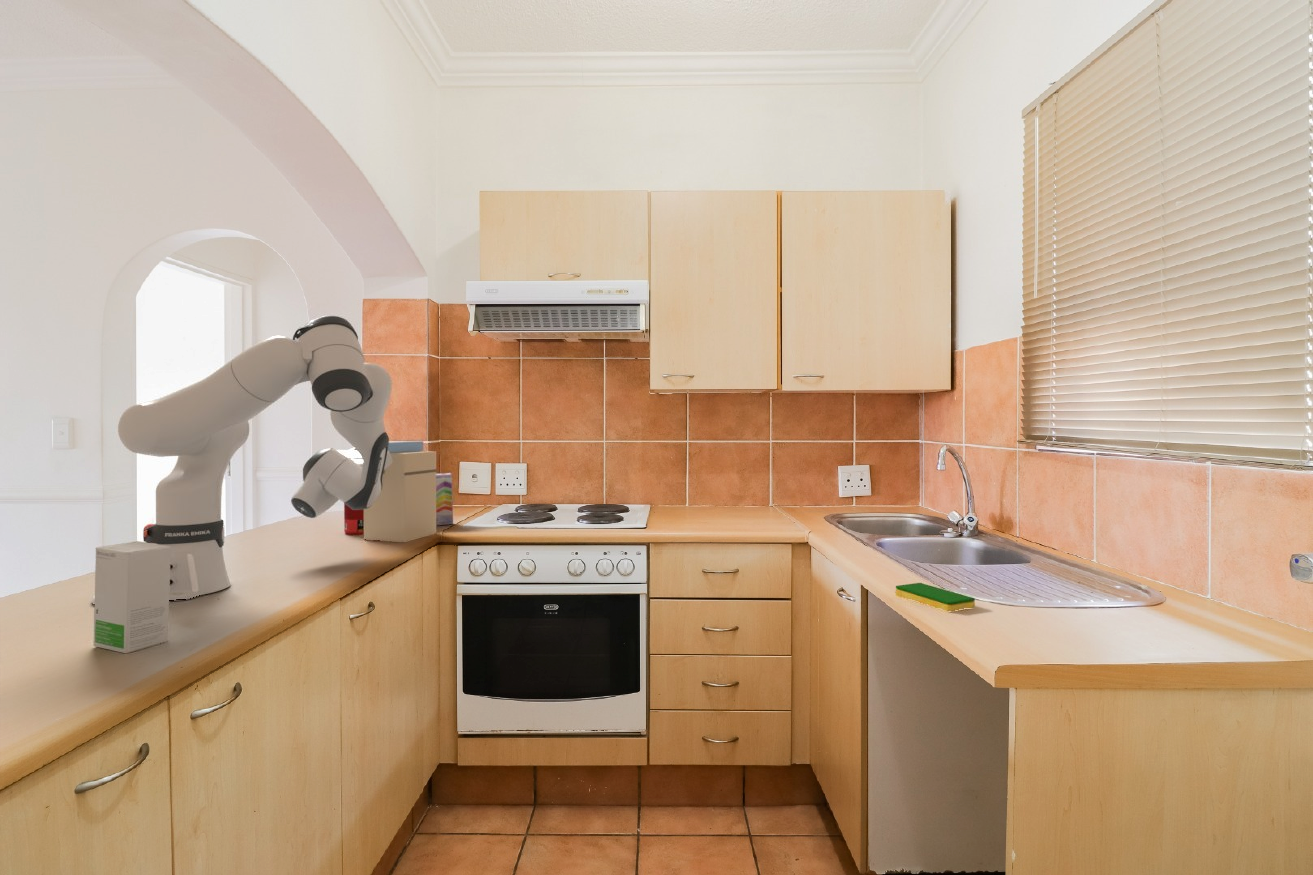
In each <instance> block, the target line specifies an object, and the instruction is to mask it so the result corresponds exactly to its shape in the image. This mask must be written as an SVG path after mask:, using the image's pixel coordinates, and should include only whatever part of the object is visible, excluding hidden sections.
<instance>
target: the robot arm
mask: <svg viewBox="0 0 1313 875" xmlns="http://www.w3.org/2000/svg"><path fill="white" fill-rule="evenodd" d="M392 380H393V379H392V377H391V375H390V373H389V372H388V370H386V369H385V368H384V367H383V366H381V365H379V364H376V363H373V362H365V357H364V353H363V350H362V347H361V345H360V341H359V336H358V333H357V331H356V330H355V328H354V326H353V325H352V324H351V323H350V322H349V321H348V320H347V319H345V318H343V317H341V316H338V315H337V316H336V315H324V316H321V317H317V318H315V319H312V320H310V321H309V322H307V323H306V324H305V325H304V326H300V327H299V328H297V330H295V332H294V334H293V336H292V338H290V337H287V336H283V335H275V336H274V335H273V336H271V337H269V338H266V339H264V340H262V341H260V342H257V343H255V344H254V345H252V346H250V347H248V348H247V349H245V350H244V351H242V352H240V353H238V355H236V356H235V357H234V358H232V359H231V360H229V361H228V362H227V363H225V364H224V365H223V366H221V367H220V368H219V369H217V370H216V371H214V372H213V373H212V374H210V375H209V376H207V377H205V378H203V379H201V380H199V381H197V382H195V383H193V384H190V385H188V386H186V387H183V388H181V389H179V390H177V391H174V392H171V393H170V394H167V395H164V396H162V397H159V398H157V399H154V400H150V401H147V402H146V401H145V402H143V403H139V404H134V405H131V406H129V407H127V409H125V410H124V412H122V415H121V416H120V418H119V421H118V426H117V432H118V436H119V439H120V441H121V443H122V444H123V446H124V447H125V448H126V449H127V450H129V451H130V452H131V453H135V454H140V455H145V456H152V457H159V458H163V457H177V460H176V463H175V465H174V467H173V469H172V470H171V471H170V473H169V474H168V475H167V476H165V477H164V478H162V479H161V480H160V481H159V482H158V483H157V485H156V488H155V523H148V524H146V525H145V526H144V527H143V533H142V534H143V535H142V536H143V542H146V543H156V544H158V545H164V546H169V547H171V560H170V591H169V600H174V601H176V600H175V599H186V600H190V598H191V599H193V597H194V598H197V597H199V595H200V596H202V595H206V594H207V595H208V594H212V593H215V592H219V591H221V590H225V589H227V588H229V587H230V586H231V585H232V583H231V581H230V578H229V574H228V571H227V567H226V561H225V557H224V556H225V555H224V550H223V546H224V544H225V525H224V520H223V519H222V494H223V493H222V491H223V483H224V478H225V474H226V471H227V469H228V466H229V464H230V461H231V460H232V458H233V456H234V455H235V454H236V452H237V451H238V450H239V449H240V448H241V447H242V446H244V445H245V443H246V441H247V440H248V437H249V435H250V424H249V421H250V420H251V419H253V418H254V417H257V415H259V414H260V413H262V411H264V410H266V409H267V408H268V407H270V406H271V405H273V404H274V403H275V402H277V401H278V400H279V399H281V398H282V397H283V396H285V395H286V394H287V393H288V392H289V391H290V390H291V389H293V388H294V387H295V386H297V385H299V384H302V383H304V382H305V383H306V382H309V383H310V385H311V391H312V395H313V396H314V399H315V400H316V402H317V403H318V404H319V406H320V407H322V408H323V409H326V410H329V411H330V412H329V413H330V414H329V415H330V420H331V424H332V426H333V427H334V429H335V430H336V432H338V434H339V435H341V437H343V438H344V439H345V440H346V441H347V442H348V443H349V444H350V445H351V446H352V447H353V448H350V449H335V448H333V447H327V448H322V449H319V450H318V451H317V452H316V453H314V454H313V455H312V456H311V457H310V458H309V459H308V460H307V461H305V463H304V464H303V465H304V466H303V467H302V481H303V483H302V484H301V486H300V487H299V488H298V489H297V491H296V492H295V493H294V494H293V495H292V497H291V500H290V502H291V505H292V507H293V508H294V509H295V510H296V511H297V512H298V513H300V514H301V515H303V516H305V517H307V518H310V519H314V518H318V517H319V516H320V515H322V514H324V513H325V512H326V511H328V510H329V509H330V508H331V507H333V506H334V505H336V503H337V502H338V501H340V502H342V503H343V505H344V504H346V505H347V506H348V507H350V508H351V509H352V510H362V509H367V508H369V507H370V506H371V505H373V504H374V503H375V502H376V500H377V499H378V497H379V495H380V493H381V490H382V476H383V472H384V470H385V469H386V468H387V467H388V466H390V465H391V464H392V462H393V461H392V457H391V455H390V453H389V451H388V446H389V442H390V437H389V435H388V434H387V431H386V428H385V424H384V415H385V413H386V410H387V408H388V405H389V402H390V397H391V393H392V388H393V387H392V386H393V382H392ZM196 596H197V597H196ZM91 603H92V604H93V605H94V604H95V593H94V594H93V595H92V599H91Z"/></svg>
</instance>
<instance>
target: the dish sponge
mask: <svg viewBox="0 0 1313 875" xmlns="http://www.w3.org/2000/svg"><path fill="white" fill-rule="evenodd" d="M895 596H896V597H900V598H902V597H903V599H905V598H907V599H906V600H908V599H912V600H915V601H918V602H920V603H919V604H921V603H923V604H922V605H924V604H928V605H930V606H933V607H935V608H934V609H936V608H941V609H943V610H946V611H955V610H959V609H964V608H974V607H975V606H976V604H975V602H976V601H975V600H976V599H975V597H971V596H968V595H966V594H961V593H957V592H954V591H951V590H947V589H943V588H940V587H937V586H934V585H933V586H932V585H931V584H926V583H922V582H915V583H908V584H899V585H895ZM915 601H914V602H915ZM918 602H917V603H918ZM930 606H929V607H930ZM933 607H932V608H933ZM975 608H976V607H975ZM943 610H942V611H943ZM946 611H945V612H946Z"/></svg>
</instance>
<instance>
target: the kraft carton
mask: <svg viewBox="0 0 1313 875" xmlns="http://www.w3.org/2000/svg"><path fill="white" fill-rule="evenodd" d="M390 455H391V457H392V461H393V462H392V464H391V465H390V466H388V467H387V468H386V469H385V470H384V472H383V476H382V490H381V493H380V495H379V497H378V499H377V500H376V502H375V503H374V504H373V505H371V506H370V507H369V508H367V509H364V534H363V540H364V539H366V540H365V541H373V540H380V541H379V542H390V541H391V542H392V543H394V542H395V543H408V542H411V541H414V540H418V539H422V538H425V537H429V536H433V535H436V534H437V525H436V474H437V451H436V450H435V451H432V450H431V451H429V450H428V451H427V450H423V451H413V452H397V453H390Z"/></svg>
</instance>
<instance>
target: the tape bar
mask: <svg viewBox="0 0 1313 875" xmlns="http://www.w3.org/2000/svg"><path fill="white" fill-rule="evenodd" d="M388 451H389V453H397V452H413V451H424V441H422V440H421V441H420V440H415V441H413V440H412V441H411V440H409V441H389V446H388Z"/></svg>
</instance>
